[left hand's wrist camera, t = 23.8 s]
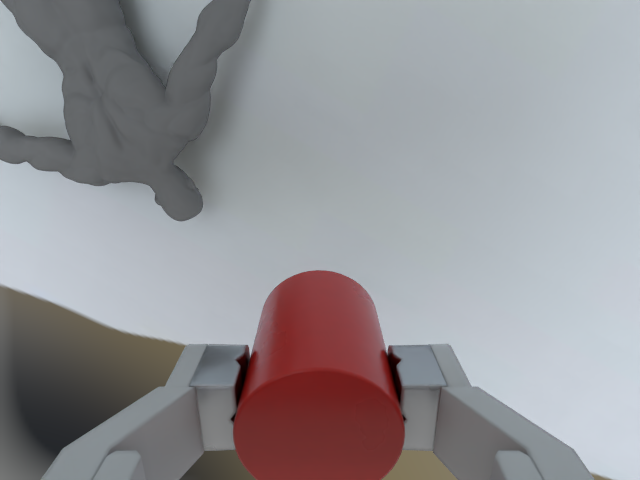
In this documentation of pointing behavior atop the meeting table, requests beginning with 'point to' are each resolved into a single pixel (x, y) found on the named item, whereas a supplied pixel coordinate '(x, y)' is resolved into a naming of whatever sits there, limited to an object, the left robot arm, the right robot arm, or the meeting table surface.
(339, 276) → the tin
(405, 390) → the left robot arm
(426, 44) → the meeting table surface
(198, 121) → the figurine
